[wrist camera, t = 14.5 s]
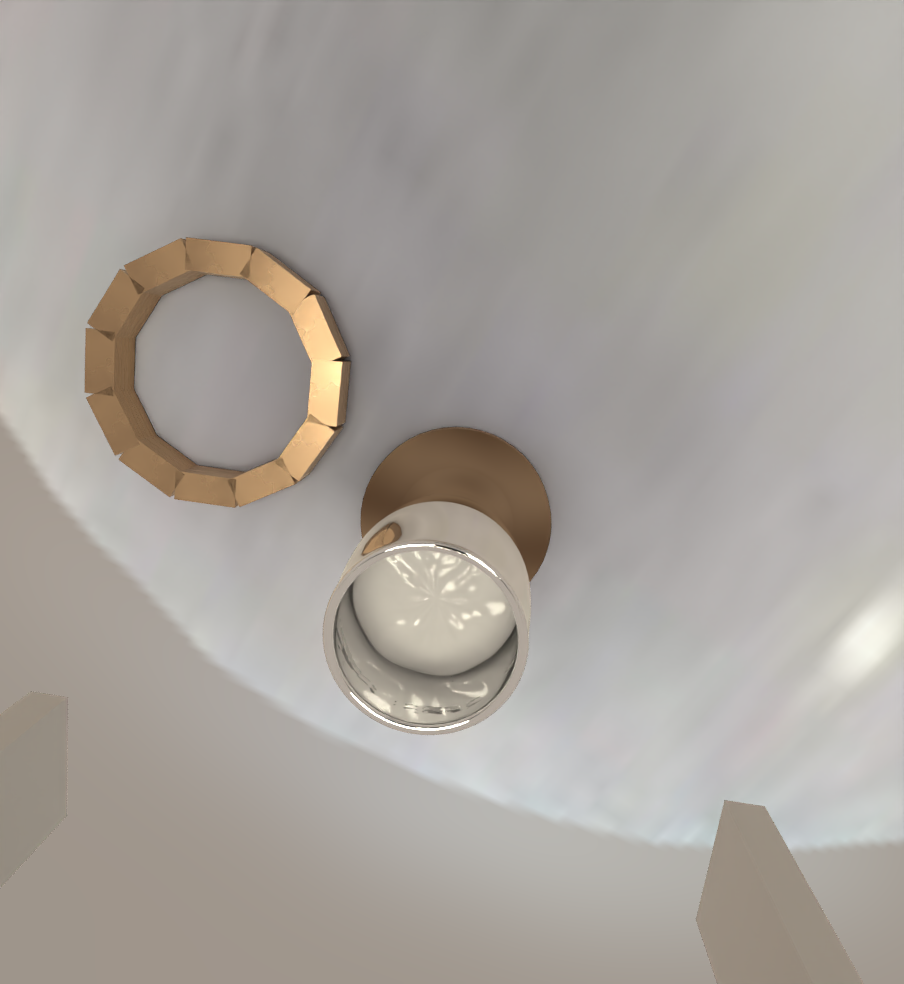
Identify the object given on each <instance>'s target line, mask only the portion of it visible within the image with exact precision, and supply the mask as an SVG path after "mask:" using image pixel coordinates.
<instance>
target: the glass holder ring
mask: <svg viewBox="0 0 904 984" xmlns="http://www.w3.org/2000/svg"><path fill="white" fill-rule="evenodd" d="M124 267H125V269H126V270H122V269H120V270H119V272H118V273H117V275H116V277H115V278H114V280H113V281H112V283H111V285H110V286H109V288H108V290H107V291H106V293H105V295H104V296H103V298H102V300H101V301H100V303H99V304H98V306H97V308H96V309H95V311H94V313H93V314H92V316H91V318H90V319H89V321H88V324H89V325H91V326H92V327H93V328H86V346H85V392H86V393H93V395H91V396H89V397H86V399H87V401H88V403H89V405H90V407H91V409H92V411H93V413H94V415H95V417H96V419H97V421H98V423H99V425H100V426H101V428H102V430H103V432H104V434H105V436H106V438H107V440H108V442H109V444H110V446H111V448H112V450H113V452H114V454H115V455H118V454H122V453H123V454H122V455H121V457H120V458H119V460H120V461H121V462H123V463H124V464H125V465H127V466H128V467H129V468H131V469H132V470H133V471H135V472H136V473H138V474H139V475H140V476H142V477H143V478H144V479H146V480H147V481H148V482H150V483H151V484H152V485H154V486H155V487H157V488H158V489H159V490H161V491H162V492H163V493H165V494H166V495H167V496H169V497H171V496H173V495H175V498H174V499H178V500H185V501H192V502H199V503H206V504H213V505H220V506H227V507H234V508H235V507H236V506H238V505H239V507H241V506H243V505H246V504H248V503H251V502H253V501H255V500H258V499H260V498H263V497H265V496H268V495H270V494H272V493H275V492H277V491H280V490H282V489H285V488H287V487H289V486H292V485H294V484H296V483H297V482H299V481H300V480H302V479H303V478H305V477H306V476H307V475H309V474H310V472H311V471H312V470H313V468H314V467H315V466H316V464H317V463H318V461H319V460H320V459H321V457H322V456H323V454H324V453H325V452H326V450H327V449H328V448H329V446H330V445H331V443H332V442H333V441H334V439H335V438H336V437H337V435H338V434H339V432H340V431H341V430H342V428H343V427H342V426H341V424H343V423H345V418H346V407H347V397H348V387H349V376H350V366H351V361H344V360H342V359H344V358H347V357H349V356H350V355H349V352H348V350H347V348H346V346H345V343H344V341H343V339H342V336H341V334H340V332H339V329H338V327H337V325H336V323H335V320H334V318H333V316H332V313H331V311H330V309H329V306H328V304H327V302H326V300H325V297H322V296H319V295H320V293H321V292H320V291H318V290H317V289H316V288H314V287H313V286H312V285H310V284H309V283H308V282H307V281H305V280H304V279H303V278H301V277H300V276H299V275H298V274H296V273H295V272H294V271H292V270H291V269H290V268H288V267H287V266H286V265H285V264H283V263H282V262H281V261H279V260H278V259H277V258H276V257H274V256H273V255H272V254H270V253H268V252H266V251H263V250H261V249H258V248H256V247H253V246H250V245H242V244H234V243H227V242H219V241H211V240H203V239H195V238H187V237H186V240H185V239H182V238H180V239H178V240H176V241H174V242H172V243H170V244H168V245H166V246H164V247H162V248H159V249H157V250H155V251H153V252H151V253H149V254H147V255H145V256H143V257H141V258H139V259H137V260H134V261H132V262H130V263H128V264H126V265H124ZM205 275H214V276H222V277H230V278H238V279H246V280H248V281H249V282H251V283H252V284H253V285H255V286H256V287H257V288H259V289H260V290H261V291H262V292H264V293H265V294H266V295H268V296H269V297H270V298H272V299H273V300H274V301H275V302H277V303H278V304H279V305H281V306H282V307H283V308H285V309H286V310H287V311H288V312H289V313H290V315H291V318H292V320H293V322H294V324H295V327H296V329H297V331H298V333H299V336H300V338H301V340H302V342H303V345H304V347H305V349H306V351H307V354H308V356H309V358H310V360H311V363H312V368H311V380H310V392H309V404H308V416H307V419H306V420H305V422H304V423H303V424H302V426H301V427H300V429H299V430H298V431H297V433H296V434H295V436H294V437H293V438H292V440H291V441H290V443H289V444H288V445H287V447H286V448H285V450H284V451H283V453H282V454H281V455H280V457H279V458H277V459H275V460H273V461H270V462H268V463H265V464H263V465H261V466H258V467H256V468H254V469H251V470H249V471H246V472H242V471H235V470H228V469H221V468H214V467H207V466H200V465H196V464H195V463H194V462H192V461H191V460H189V459H188V458H187V457H185V456H184V455H183V454H181V453H180V452H179V451H177V450H176V449H175V448H173V447H172V446H171V445H169V444H168V443H167V442H165V441H164V440H162V439H161V438H160V437H158V436H157V435H156V433H155V431H154V429H153V427H152V425H151V423H150V421H149V419H148V417H147V415H146V413H145V411H144V409H143V407H142V405H141V403H140V401H139V398H138V396H137V394H136V392H135V390H134V365H135V338H136V336H137V334H138V333H139V331H140V330H141V328H142V326H143V325H144V323H145V322H146V320H147V318H148V317H149V315H150V314H151V312H152V311H153V309H154V307H155V306H156V304H157V303H158V301H159V299H160V298H161V296H162V295H164V294H166V293H169V292H171V291H173V290H175V289H177V288H179V287H181V286H184V285H186V284H188V283H190V282H192V281H194V280H196V279H198V278H201V277H203V276H205ZM94 328H95V329H94Z"/></svg>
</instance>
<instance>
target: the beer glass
mask: <svg viewBox="0 0 904 984" xmlns="http://www.w3.org/2000/svg"><path fill="white" fill-rule="evenodd" d="M513 527H514V522H513V514H512V510H511V507H510V504H509V502H508V500H507V498H506V496H505V495H504V493H503V492H502V490H501V489H500V488H499V487H498V486H497V485H496V484H495V483H494V482H493V481H492V480H490V479H489V478H487V477H486V476H484V475H482V474H480V473H478V472H476V471H473V470H469V469H465V468H444V469H440V470H436V471H433V472H431V473H429V474H427V475H425V476H424V477H422V478H421V479H419V480H418V481H417V482H416V483H415V484H413V486H412V487H411V488H410V489H409V490H408V491H407V493H406V494H405V496H404V498H403V500H402V502H401V504H400V506H399V507H398V508H396V509H394V510H393V511H391V512H389V513H388V514H386V515H385V516H384V517H383V518H381V519H380V520H379V521H378V522H377V523H376V524H375V525H374V526H373V527H372V528H371V529H370V530H369V532H368V533H367V534H366V535H365V536H364V537H363V539H362V540H361V541H360V543H359V544H358V545H357V547H356V549H355V550H354V552H353V554H352V555H351V557H350V559H349V561H348V562H347V564H346V566H345V569H344V571H343V573H342V575H341V577H340V580H339V582H338V585H337V586H336V588H335V589H334V591H333V593H332V595H331V598H330V600H329V602H328V605H327V608H326V612H325V617H324V623H323V645H324V652H325V656H326V660H327V663H328V666H329V669H330V671H331V674H332V676H333V678H334V680H335V681H336V683H337V685H338V686H339V688H340V689H341V691H342V692H343V693H344V695H345V696H346V697H347V698H348V699H349V700H350V701H351V702H352V703H353V704H354V705H355V706H356V707H357V708H358V709H359V710H360V711H362V712H363V713H364V714H366V715H367V716H369V717H370V718H372V719H373V720H375V721H377V722H379V723H381V724H383V725H385V726H387V727H390V728H392V729H395V730H399V731H402V732H407V733H412V734H420V735H439V734H447V733H453V732H457V731H460V730H463V729H466V728H469V727H471V726H474V725H476V724H478V723H480V722H481V721H483V720H485V719H486V718H488V717H489V716H491V715H492V714H493V713H495V712H496V711H497V710H498V709H499V708H500V707H501V706H502V705H503V704H504V703H505V702H506V701H507V700H508V699H509V697H510V696H511V695H512V693H513V692H514V690H515V689H516V687H517V685H518V683H519V681H520V679H521V677H522V675H523V672H524V669H525V666H526V662H527V657H528V650H529V629H530V618H531V592H530V583H529V578H528V573H527V568H526V564H525V561H524V558H523V555H522V552H521V550H520V548H519V546H518V544H517V542H516V541H515V539H514V537H513Z"/></svg>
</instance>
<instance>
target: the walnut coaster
mask: <svg viewBox="0 0 904 984" xmlns="http://www.w3.org/2000/svg"><path fill="white" fill-rule="evenodd" d="M444 468H465V469H469V470H473V471H476V472H478V473H480V474H482V475H484V476H486V477H487V478H489V479H490V480H492V481H493V482H494V483H495V484H496V485H497V486H498V487H499V488H500V489H501V490H502V492H503V493H504V495H505V496H506V498H507V500H508V502H509V504H510V507H511V510H512V514H513V522H514V527H513V537H514V539H515V541H516V542H517V544H518V546H519V548H520V550H521V552H522V555H523V558H524V561H525V564H526V568H527V573H528V578H529V582H530V581H531V580H532V578H533V577H534V575H535V574H536V573H537V571H538V569H539V568H540V566H541V564H542V562H543V560H544V557H545V555H546V552H547V549H548V545H549V541H550V534H551V512H550V506H549V501H548V498H547V495H546V492H545V488H544V485H543V483H542V481H541V479H540V477H539V475H538V473H537V472H536V470H535V469H534V467H533V466H532V464H531V463H530V462H529V461H528V460H527V459H526V457H525V456H524V455H523V454H522V453H521V452H519V451H518V450H517V449H516V448H515V447H514V446H512V445H511V444H509V443H508V442H506V441H505V440H503V439H501V438H499V437H497V436H495V435H493V434H490V433H487V432H484V431H481V430H477V429H472V428H464V427H447V428H440V429H434V430H430V431H427V432H424V433H421V434H419V435H417V436H415V437H413V438H411V439H409V440H407V441H406V442H404V443H403V444H401V445H400V446H398V447H397V448H396V449H395V450H394V451H393V452H392V453H390V454H389V455H388V456H387V457H386V458H385V460H384V461H383V462H382V463H381V464H380V465H379V467H378V468H377V470H376V471H375V473H374V474H373V476H372V478H371V480H370V482H369V484H368V486H367V488H366V492H365V495H364V498H363V503H362V508H361V532H362V538H363V537H364V536H365V535H366V534H367V533H368V532H369V530H370V529H371V528H372V527H373V526H374V525H375V524H376V523H377V522H378V521H379V520H380V519H381V518H383V517H384V516H385V515H386V514H388V513H389V512H391V511H393V510H394V509H396V508H398V507H399V506H400V504H401V502H402V500H403V498H404V496H405V494H406V493H407V491H408V490H409V489H410V488H411V487H412V486H413V484H415V483H416V482H417V481H418V480H419V479H421V478H422V477H424V476H425V475H427V474H429V473H431V472H433V471H436V470H440V469H444Z"/></svg>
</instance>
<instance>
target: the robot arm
mask: <svg viewBox="0 0 904 984" xmlns="http://www.w3.org/2000/svg"><path fill="white" fill-rule="evenodd" d="M67 736H68V697H64V696H57V695H51V694H45V693H38V692H32V691H31V692H30V693H28V694H27V695H26V696H24V697H23V698H22V699H20V700H19V701H17V702H16V703H15V704H13V705H12V706H11V707H9V708H8V709H7V710H5V711H4V712H3V713H1V714H0V888H1V887H2V886H3V885H4V884H5V883H6V882H7V881H8V880H9V878H10V877H11V876H12V875H13V874H14V873H15V872H16V871H17V870H18V869H19V868H20V866H21V865H22V864H23V863H24V862H25V861H26V860H27V859H28V858H29V857H30V855H32V853H33V852H34V851H35V850H36V849H37V848H38V847H39V846H40V845H41V844H42V843H43V841H44V840H45V839H46V838H47V837H48V836H49V835H50V834H51V832H53V831H54V830H55V828H56V827H57V826H58V825H59V824H60V823H61V822H62V821H63V820H64V818H66V816H67ZM696 922H697V924H698V927H699V930H700V934H701V937H702V940H703V942H704V946H705V948H706V952H707V955H708V958H709V961H710V964H711V967H712V969H713V973H714V976H715V979H716V982H717V984H864V983H863V981H862V980H861V978H860V976H859V974H858V972H857V971H856V969H855V967H854V965H853V964H852V962H851V960H850V958H849V956H848V954H847V953H846V951H845V949H844V947H843V946H842V944H841V942H840V940H839V938H838V937H837V935H836V933H835V932H834V930H833V928H832V926H831V924H830V922H829V920H828V919H827V917H826V915H825V913H824V912H823V910H822V908H821V906H820V904H819V903H818V901H817V899H816V897H815V896H814V894H813V892H812V890H811V888H810V887H809V885H808V883H807V881H806V880H805V878H804V876H803V874H802V872H801V870H800V869H799V867H798V865H797V863H796V861H795V860H794V858H793V856H792V854H791V853H790V851H789V849H788V847H787V845H786V844H785V842H784V840H783V838H782V836H781V835H780V833H779V831H778V829H777V828H776V826H775V824H774V822H773V820H772V819H771V817H770V815H769V813H768V811H767V810H766V808H765V806H759V805H753V804H746V803H740V802H733V801H727V800H725V801H724V805H723V809H722V813H721V817H720V821H719V826H718V830H717V834H716V838H715V842H714V846H713V850H712V854H711V859H710V863H709V867H708V871H707V875H706V880H705V884H704V888H703V892H702V896H701V900H700V904H699V908H698V912H697V917H696Z"/></svg>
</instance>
